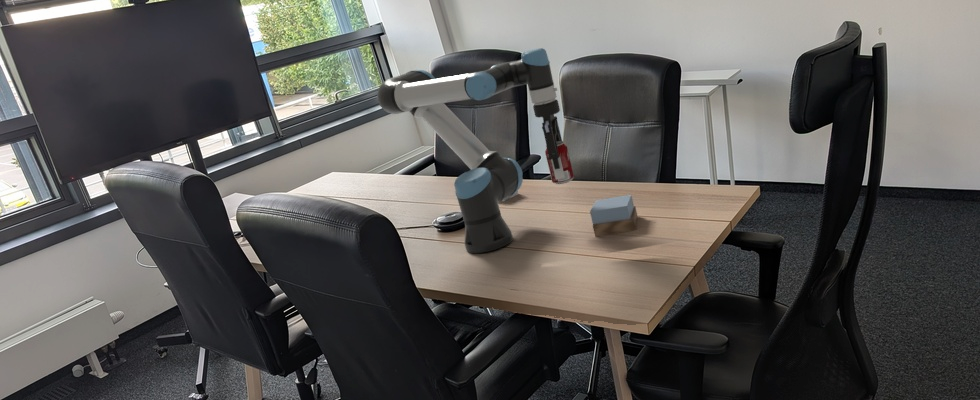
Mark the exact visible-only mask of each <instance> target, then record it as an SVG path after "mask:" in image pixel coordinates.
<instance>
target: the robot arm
mask: <svg viewBox="0 0 980 400" xmlns="http://www.w3.org/2000/svg"><path fill="white" fill-rule="evenodd" d="M520 57H521V59H518V60H513V61H512V60H511V61H508V62H500V63H497V64H494V65H492V66H491V67H490V68H488V69H485V70H482V71H475V72H469V73H463V74H459V75H458V74H457V75H453V76H445V77H439V78H435V76H434V75H433V74H432V73H430V72H429V71H426V70H424V69H416V70H409V71H407V72H406V73H403V74H400V75H397V76H394V77H390V78H388V79H386V80H384V81H383V82H382V83H381V84H380V86H379V88H378V90H377V101H378V104H379V106H380V107H381V108H382V110H383V111H385V112H386V113H388V114H391V115H399V114H402V113H407V112H409V113H410V114H411V115H412V116H413V117H414V118H415V119H422V120H423V121H424V122H425V123H426V124H427V125H428V126H429V127H430V128H431V129H432V130H433V131H434V132H435V134H437V136H439V137H440V138H441V140H442V141H443V142H444V143H445V144H446V145H447V147H449V148H450V149H451V150H452V151H453V153H455V155H456V156H457V157H459V158H460V160H462V162H463V163H464V164H465V165H466V166H467V167H468V168H469V169H470V170H468V171H464V173H463V172H462V174H460V175H458V177H457V178H455V180H454V182H453V183H454V185H453V186H454V190H455V195H456V198H457V199H456V200H457V201H458V205H459V209H460V212H461V215H462V219H463V222H464V227H465V229H464V231H465V232H464V233H465V234H464V246H465V250H466V252H467V253H469V254H480V253H482V254H483V253H487V252H492V251H495V250H498V249H500V248H502V247H505V246H507V245H508V244H510V243H512V241H513V239H514V236H513V234H512V230H511V229H510V227H509V226H508V224H507V223H506V221H505V219H504V218H503V216H502V214H501V211H500V210H501V209H500V205H499V204H500V203H501V202H504V201H503V200H504V199H506V198H507V197H509V196H511V195H513V194H514V193H515V192H516V191H517V190H518V191H519V189H520V188H521V186H522V184H523V180H524V178H523V175H524V174H523V170H522V168H521V166H520V165H519V163H518V162H517V161H516V160H515V159H513V158H511V157H509V158H508V157H503V156H502V155H501V154H500V153H499V152H498V151H496V150H489V149H488V147H487V146H486V145H484V143H483V142H482V141H481V140H479V139H480V138H478V137H477V136H476V135H475V134H474V133H473V132H472V131H471V130H470V129H469V127H467V126H466V124H464V122H462V120H460V119H459V117H458V116H457V115H456V114H455V113H454V112H453V111H452V110H451V109H450V108H449V107H448V106H447V105H446V103H452V102H453V103H454V102H460V101H469V100H476V101H482V100H486V99H487V100H488V99H489V98H491V97H493V96H494V95H497V94H500V93H503V92H504V91H507V90H509V89H513V88H515V87H516V88H517V87H520V86H525V85H527V87H528V91H529V96H530V100H531V103H532V104H533V106H532V107H533V111H534V116H535V118H542V120H543V121H542V123H541V124H542V127H541V128H542V132H543V135H544V139H545V144H546V145H547V147H546V148H547V150H548V155H549V157H548V160H549V159H551V162H552V166H553V170H554V174H555V179H556V180H557V179H562V178H565V176H564V172H563V167H562V163H561V159H560V157H559V153H558V147H557V142H558V141H563V139H562V135H561V132H560V127H559V123H558V117H557V114H558V113H560V111H561V109H560V104H559V101H558V99H557V91H558V87H555V83H554V79H553V75H552V70H551V66H550V63H551V62H550V60H549V56H548V53H547V50H546V49H545V48H543V47H542V48H535V49H532V50H530V49H529V50H526V51H524V52H522V53H521V56H520ZM555 115H556V116H555ZM546 145H545V146H546ZM553 153H555V154H553Z"/></svg>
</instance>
